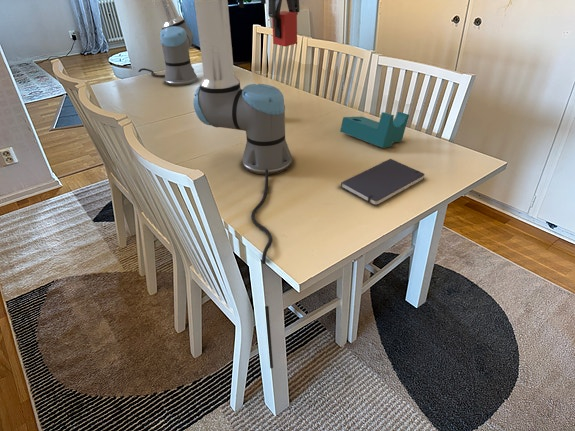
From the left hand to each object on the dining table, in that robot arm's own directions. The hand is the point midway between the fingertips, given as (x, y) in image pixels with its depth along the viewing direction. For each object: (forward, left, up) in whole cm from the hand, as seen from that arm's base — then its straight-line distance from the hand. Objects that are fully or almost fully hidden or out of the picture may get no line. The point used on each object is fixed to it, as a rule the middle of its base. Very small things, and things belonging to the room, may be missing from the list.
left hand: (252, 5), depth 190 cm
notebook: (+98, -72, -30) cm, 125 cm away
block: (+39, -32, -6) cm, 51 cm away
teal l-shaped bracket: (+83, -46, -30) cm, 99 cm away
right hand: (+39, -32, -4) cm, 51 cm away
